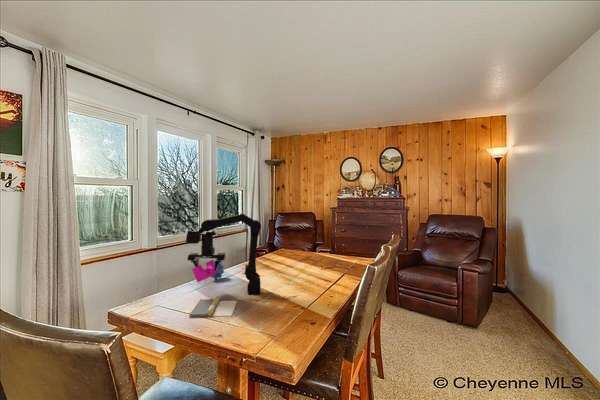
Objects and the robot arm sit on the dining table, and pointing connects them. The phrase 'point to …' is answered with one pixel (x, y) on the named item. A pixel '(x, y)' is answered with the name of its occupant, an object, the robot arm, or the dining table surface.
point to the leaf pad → (225, 308)
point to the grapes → (220, 271)
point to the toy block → (204, 271)
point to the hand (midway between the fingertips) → (207, 272)
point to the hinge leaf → (204, 307)
